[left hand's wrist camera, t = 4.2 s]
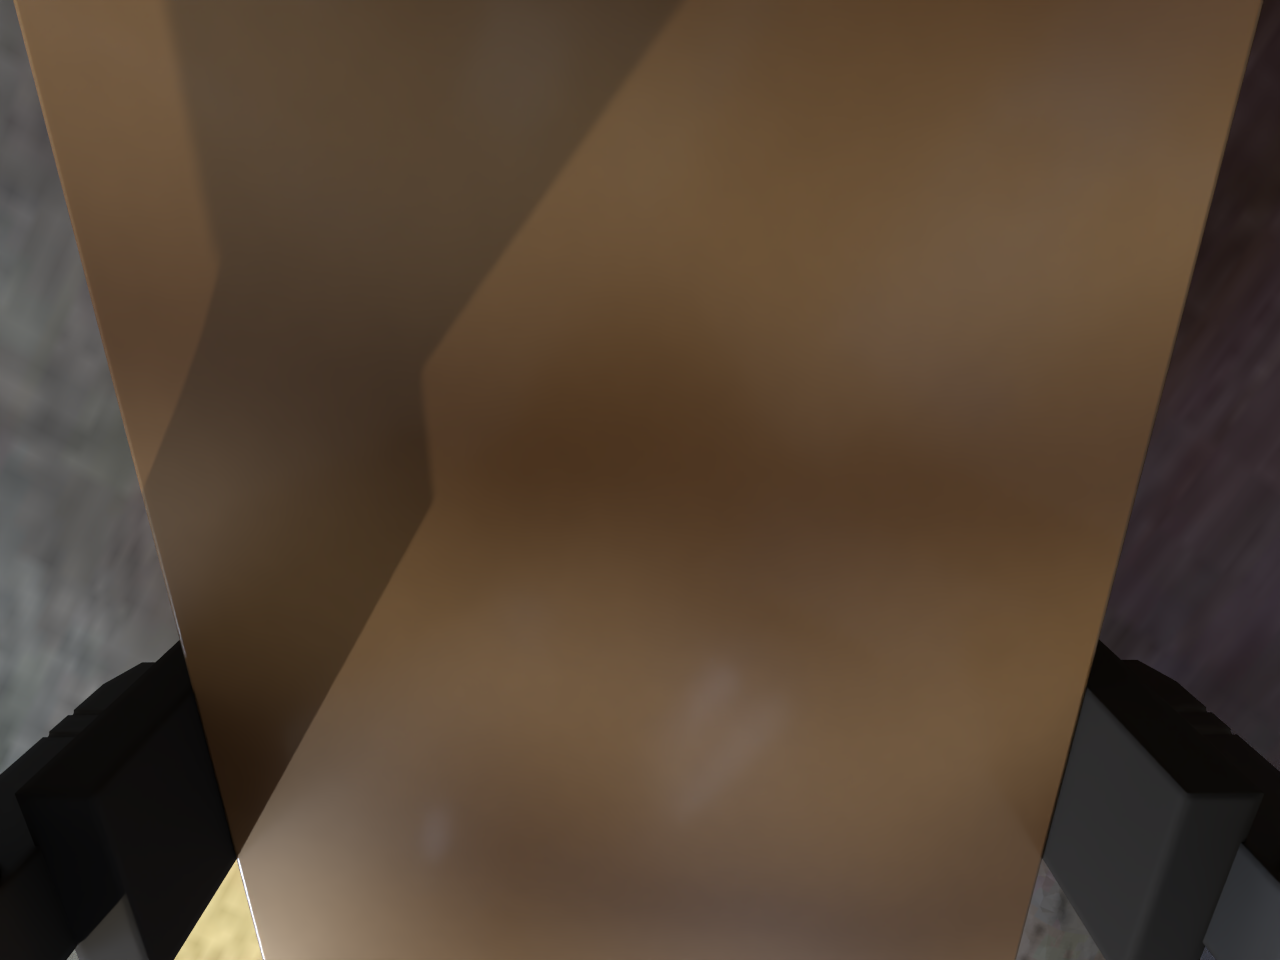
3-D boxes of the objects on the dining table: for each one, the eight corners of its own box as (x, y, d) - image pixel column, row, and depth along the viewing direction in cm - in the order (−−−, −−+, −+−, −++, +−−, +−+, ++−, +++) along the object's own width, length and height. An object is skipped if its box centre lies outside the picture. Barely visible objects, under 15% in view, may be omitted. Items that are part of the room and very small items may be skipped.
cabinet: (384, -119, 15) (-236, -930, 4) (892, -118, 15) (1510, -928, 4) (456, 595, 21) (267, 990, 10) (821, 594, 21) (1010, 988, 10)
